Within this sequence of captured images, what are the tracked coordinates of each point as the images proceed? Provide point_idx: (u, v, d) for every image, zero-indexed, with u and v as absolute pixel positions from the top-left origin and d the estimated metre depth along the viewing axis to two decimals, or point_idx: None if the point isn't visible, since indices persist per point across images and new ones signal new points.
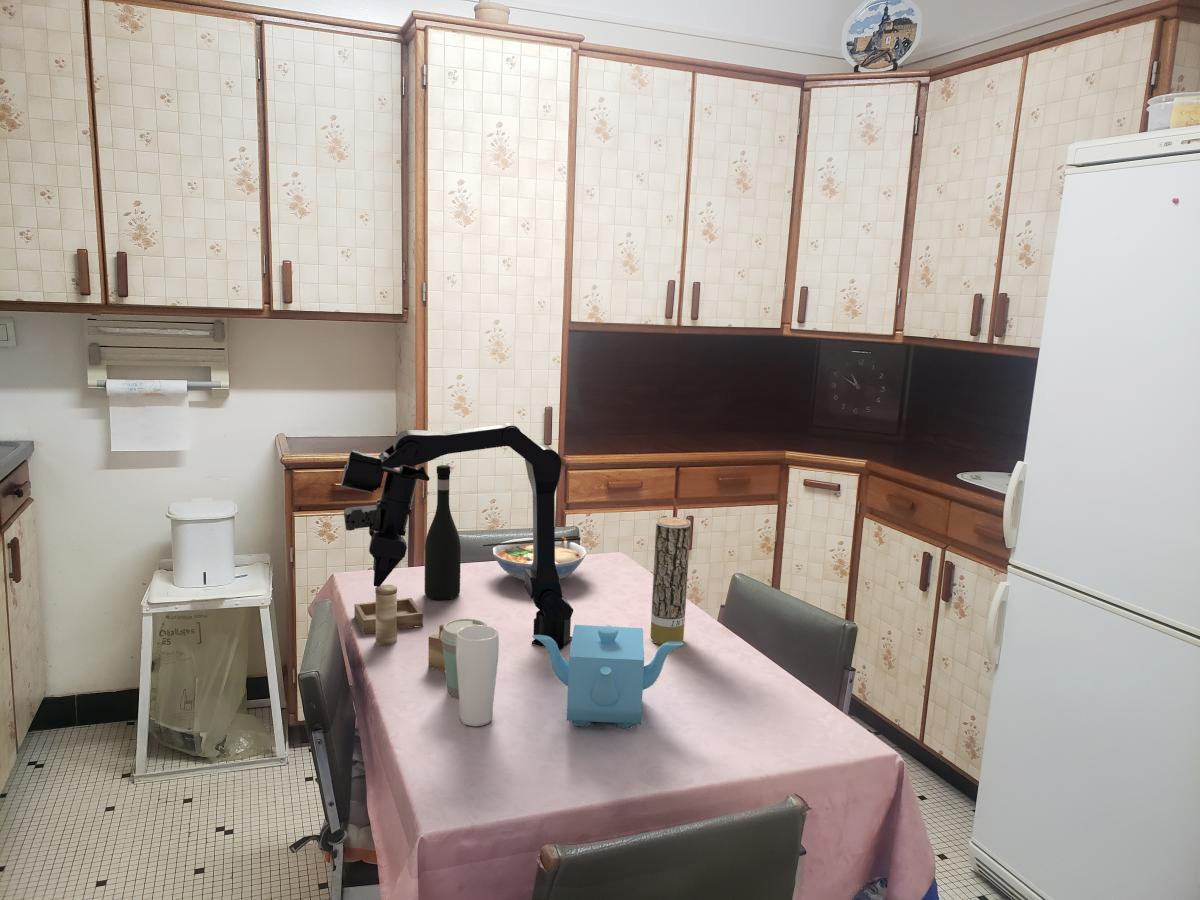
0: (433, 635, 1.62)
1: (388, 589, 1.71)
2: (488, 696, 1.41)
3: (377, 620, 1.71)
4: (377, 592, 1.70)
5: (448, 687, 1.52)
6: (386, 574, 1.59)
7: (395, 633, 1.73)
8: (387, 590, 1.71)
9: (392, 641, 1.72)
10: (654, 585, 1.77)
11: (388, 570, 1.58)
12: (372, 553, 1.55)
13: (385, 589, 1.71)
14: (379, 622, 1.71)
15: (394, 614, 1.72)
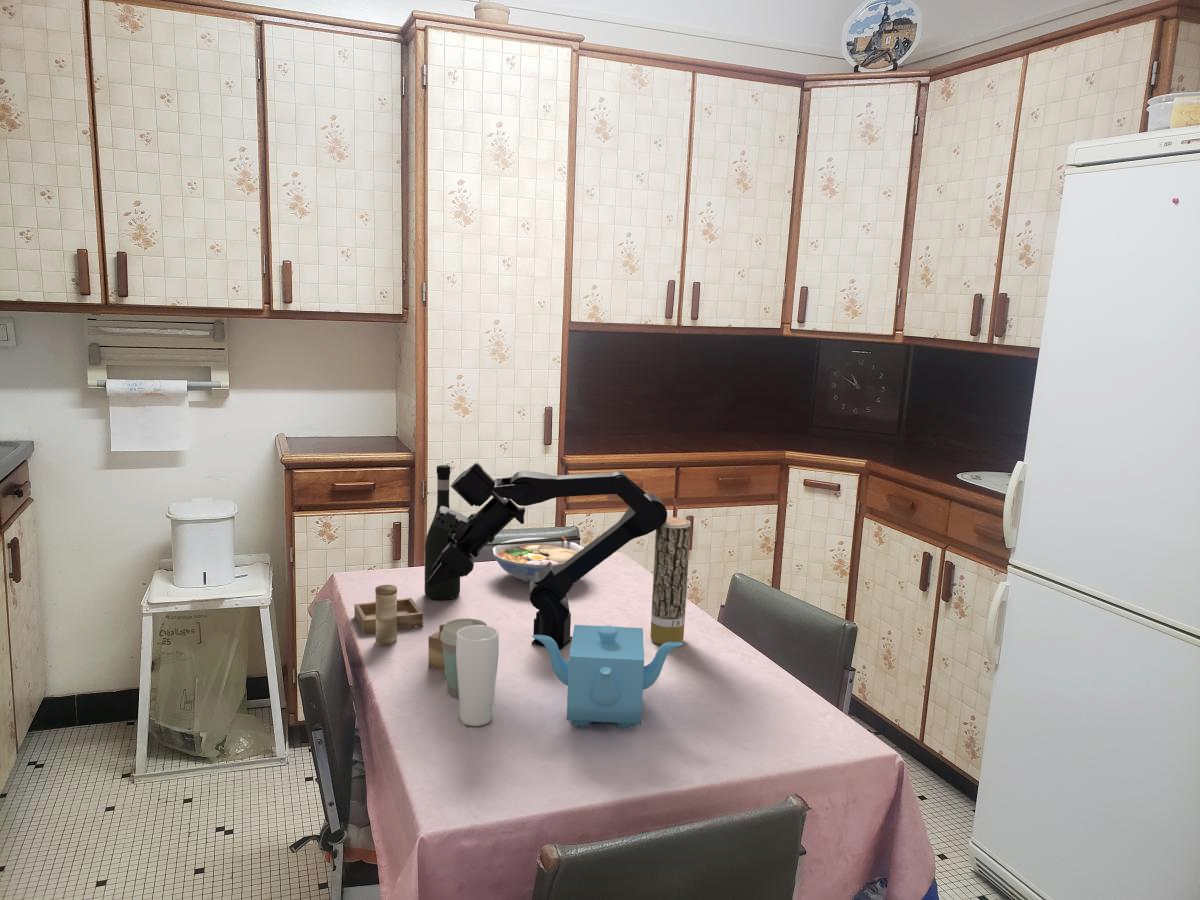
0: (433, 635, 1.62)
1: (388, 589, 1.71)
2: (488, 696, 1.41)
3: (377, 620, 1.71)
4: (377, 592, 1.70)
5: (448, 687, 1.52)
6: (442, 580, 1.67)
7: (395, 633, 1.73)
8: (387, 590, 1.71)
9: (392, 641, 1.72)
10: (654, 585, 1.77)
11: (446, 578, 1.66)
12: (442, 557, 1.64)
13: (385, 589, 1.71)
14: (379, 621, 1.71)
15: (394, 614, 1.72)
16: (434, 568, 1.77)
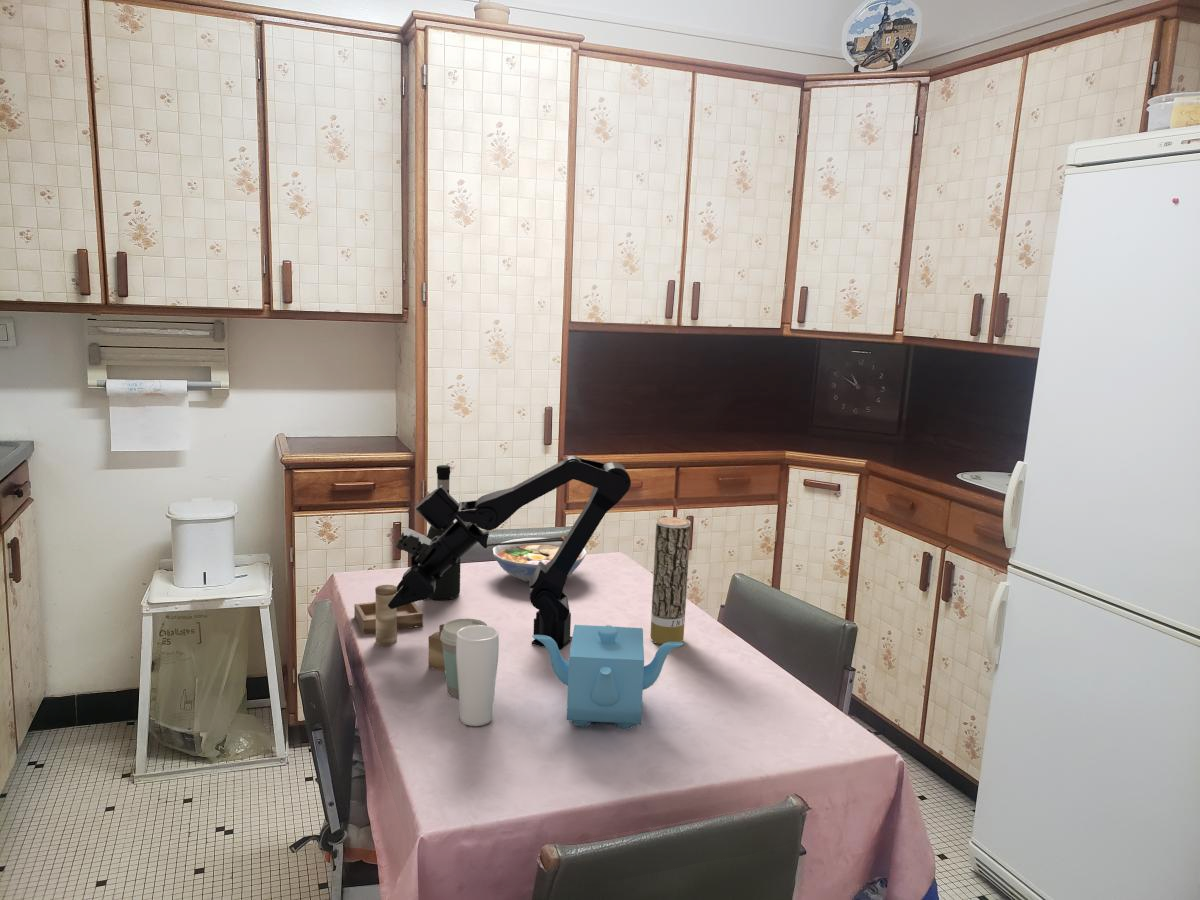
0: (433, 635, 1.62)
1: (388, 589, 1.71)
2: (488, 696, 1.41)
3: (377, 620, 1.71)
4: (377, 592, 1.70)
5: (448, 687, 1.52)
6: (403, 603, 1.67)
7: (395, 633, 1.73)
8: (387, 590, 1.71)
9: (392, 641, 1.72)
10: (654, 585, 1.77)
11: (407, 601, 1.67)
12: (403, 580, 1.64)
13: (385, 589, 1.71)
14: (379, 622, 1.71)
15: (394, 614, 1.72)
16: (397, 589, 1.77)
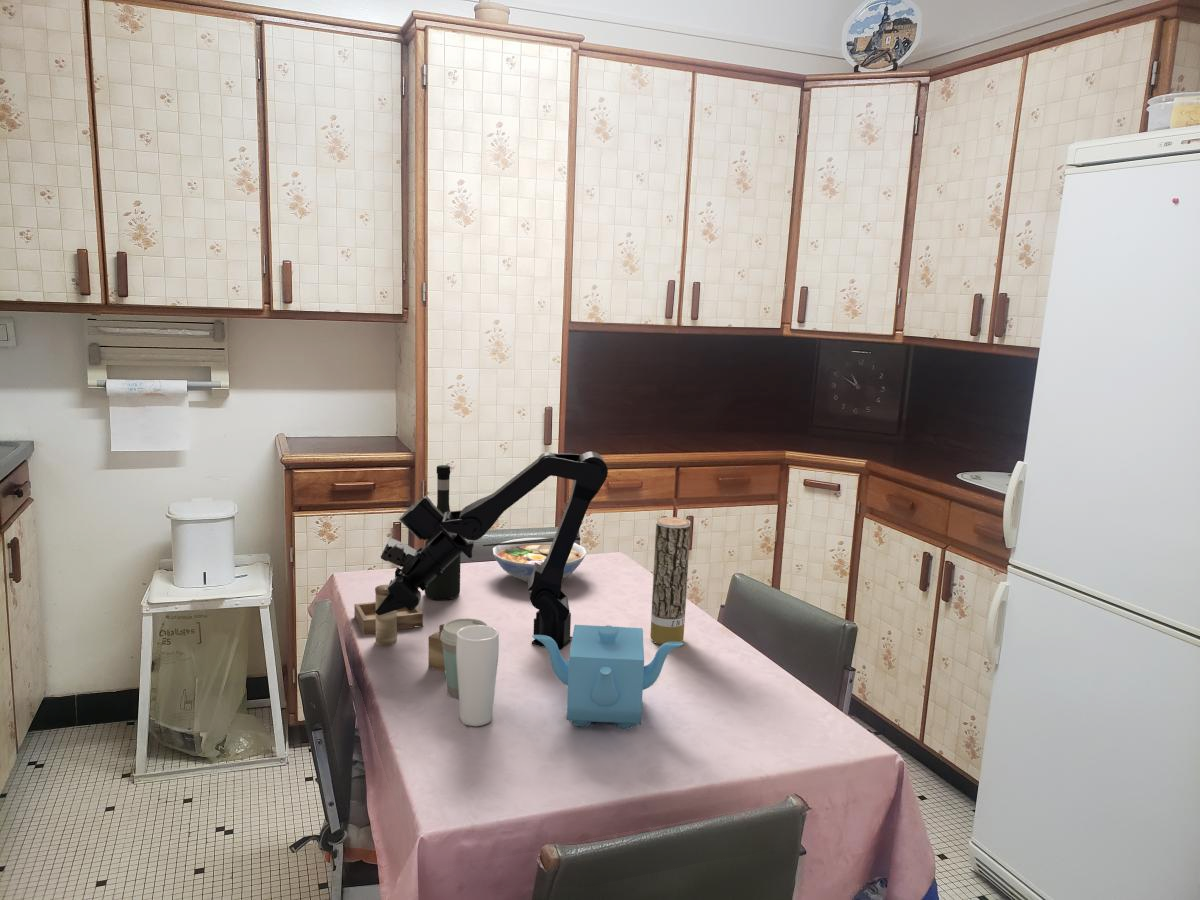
0: (433, 635, 1.62)
1: None
2: (488, 696, 1.41)
3: (377, 620, 1.71)
4: (377, 592, 1.70)
5: (448, 687, 1.52)
6: (390, 609, 1.69)
7: (395, 633, 1.73)
8: (387, 590, 1.71)
9: (392, 641, 1.72)
10: (654, 585, 1.77)
11: (394, 607, 1.69)
12: None
13: (385, 589, 1.71)
14: (379, 621, 1.71)
15: (394, 614, 1.72)
16: None
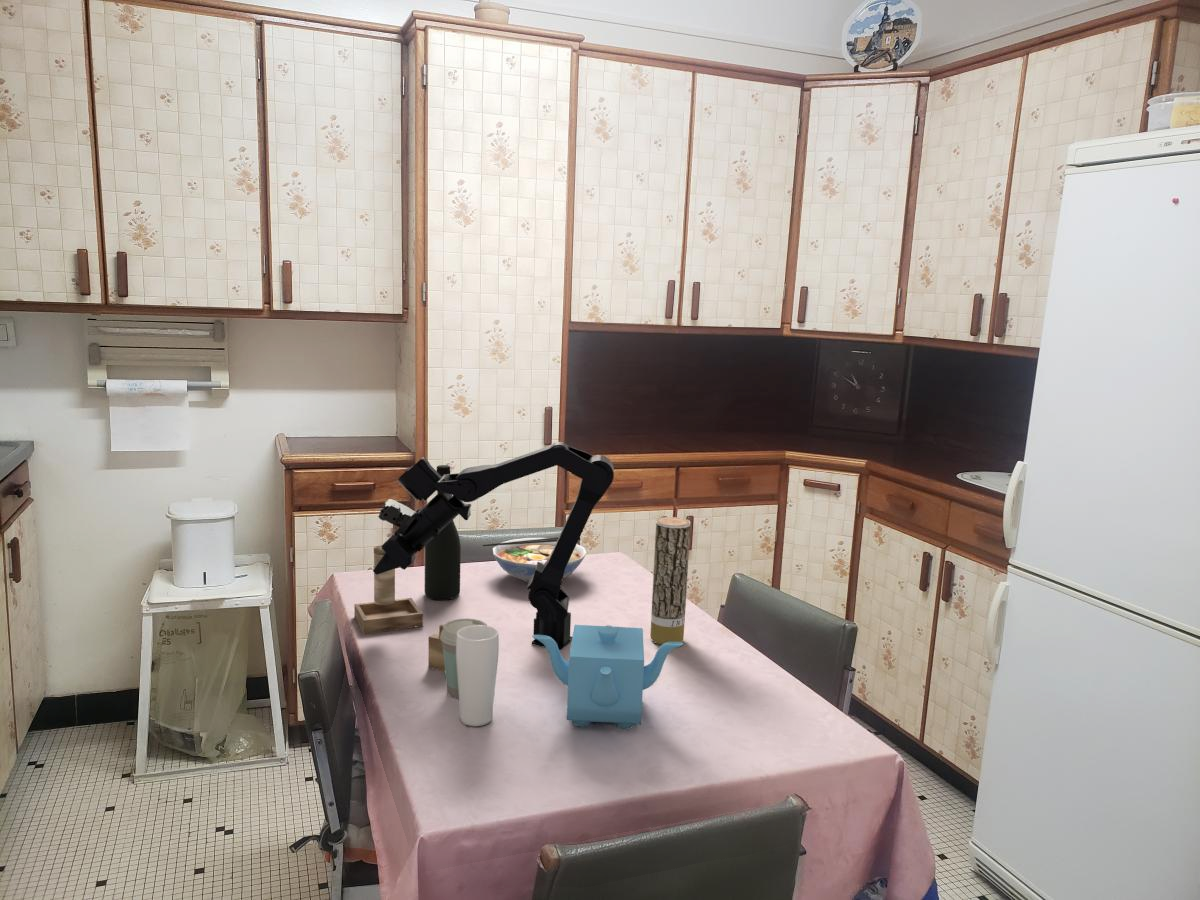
0: (433, 635, 1.62)
1: None
2: (488, 696, 1.41)
3: (375, 579, 1.73)
4: (375, 551, 1.72)
5: (448, 687, 1.52)
6: (387, 568, 1.71)
7: (393, 593, 1.75)
8: None
9: (389, 601, 1.74)
10: (654, 585, 1.77)
11: (390, 567, 1.71)
12: None
13: None
14: (377, 581, 1.73)
15: (391, 574, 1.73)
16: None
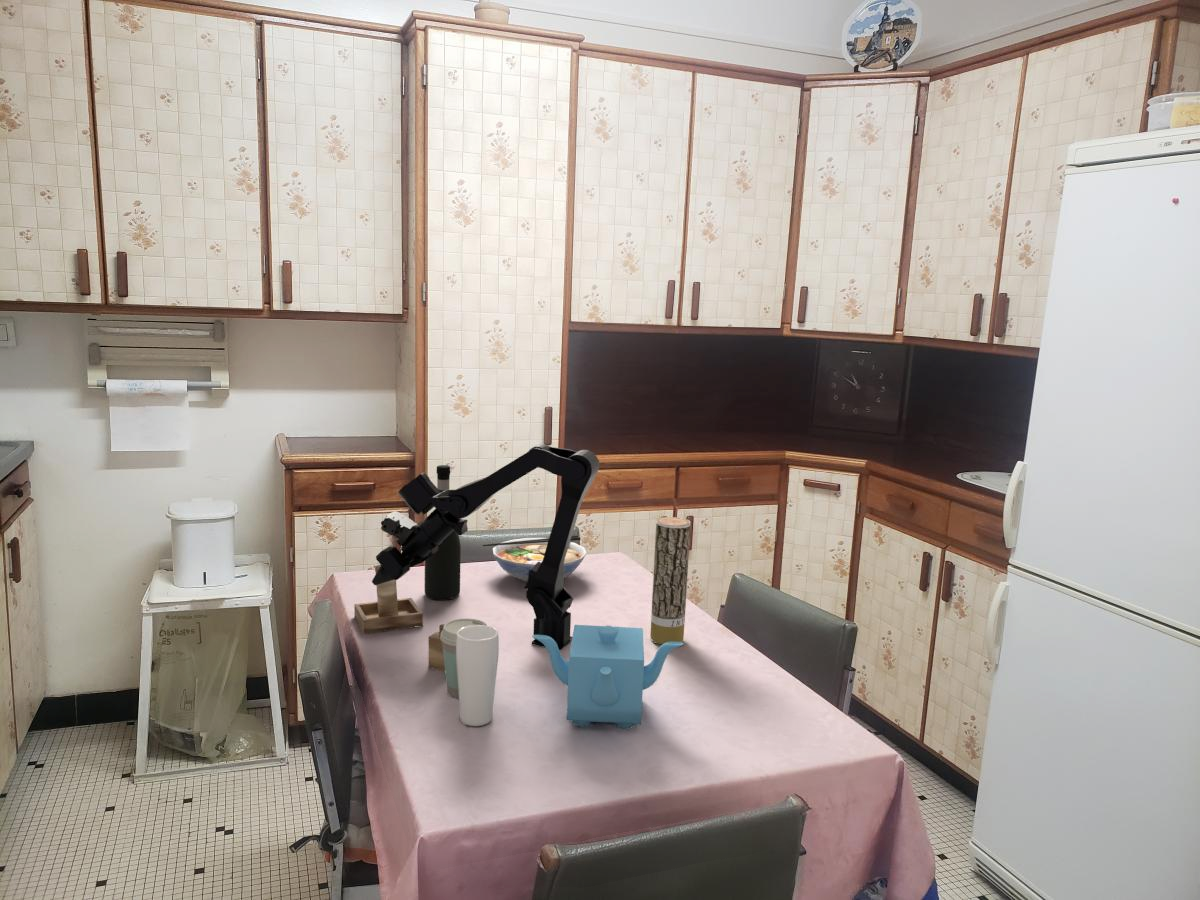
0: (433, 635, 1.62)
1: None
2: (488, 696, 1.41)
3: (377, 596, 1.82)
4: (375, 570, 1.81)
5: (448, 687, 1.52)
6: (383, 580, 1.77)
7: (394, 609, 1.83)
8: None
9: None
10: (654, 585, 1.77)
11: (386, 579, 1.77)
12: None
13: None
14: (379, 598, 1.82)
15: (391, 591, 1.82)
16: None
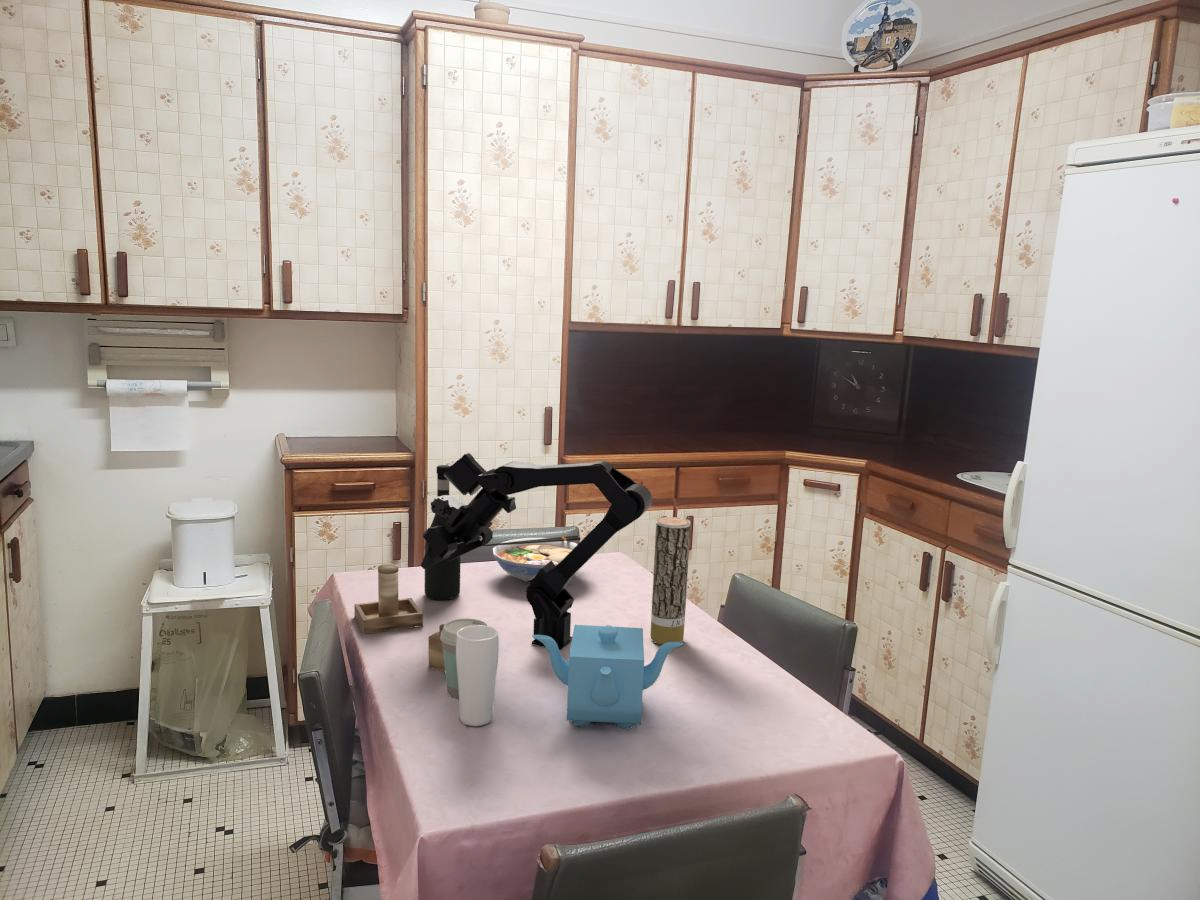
0: (433, 635, 1.62)
1: (389, 568, 1.81)
2: (488, 696, 1.41)
3: (378, 596, 1.82)
4: (378, 570, 1.81)
5: (448, 687, 1.52)
6: (431, 562, 1.75)
7: (395, 610, 1.83)
8: (387, 569, 1.81)
9: None
10: (654, 585, 1.77)
11: (433, 560, 1.75)
12: None
13: (386, 568, 1.81)
14: (380, 598, 1.82)
15: (393, 592, 1.82)
16: (447, 557, 1.85)
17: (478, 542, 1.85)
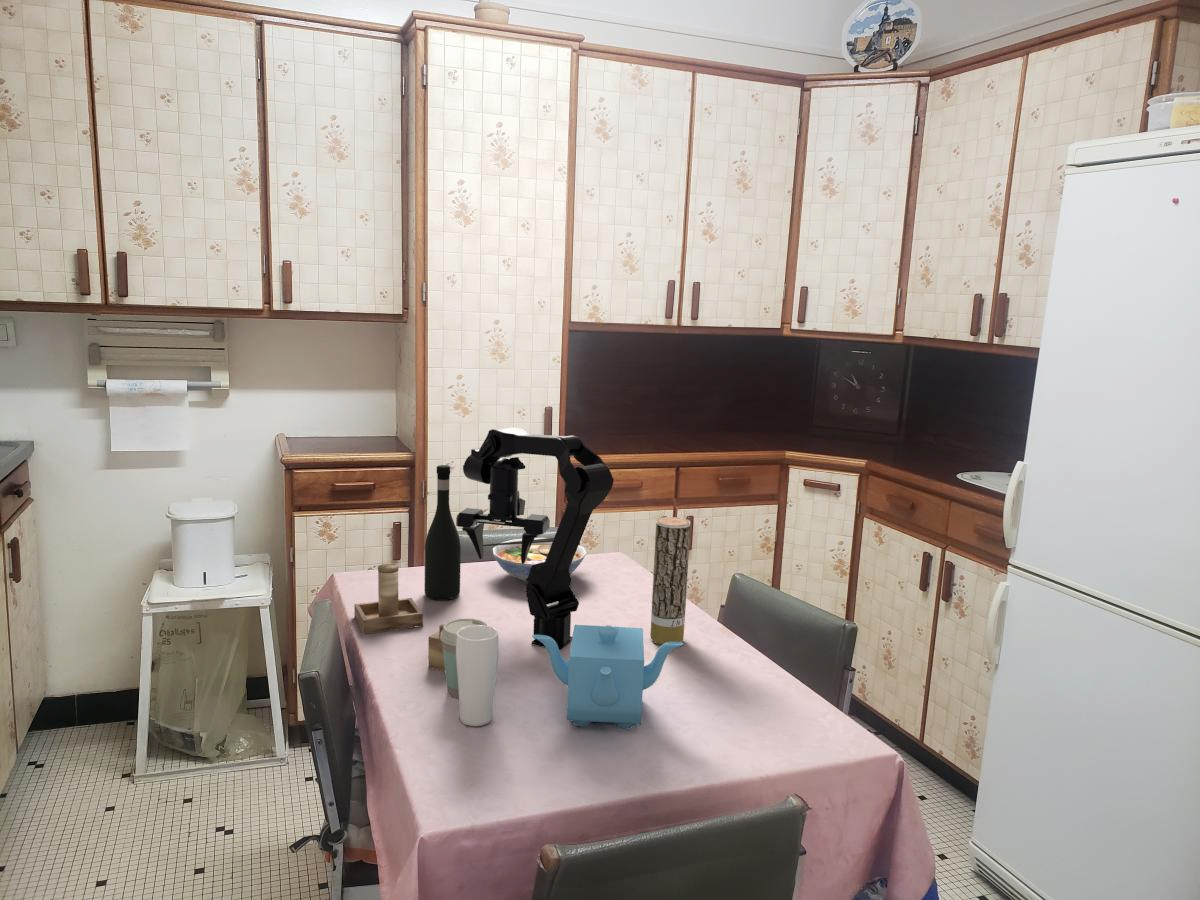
0: (433, 635, 1.62)
1: (389, 567, 1.82)
2: (488, 696, 1.41)
3: (379, 596, 1.82)
4: (378, 569, 1.81)
5: (448, 687, 1.52)
6: (475, 546, 1.85)
7: (395, 610, 1.83)
8: (387, 568, 1.81)
9: None
10: (654, 585, 1.77)
11: None
12: None
13: (386, 567, 1.82)
14: (380, 597, 1.82)
15: (393, 591, 1.82)
16: None
17: (531, 534, 1.81)
